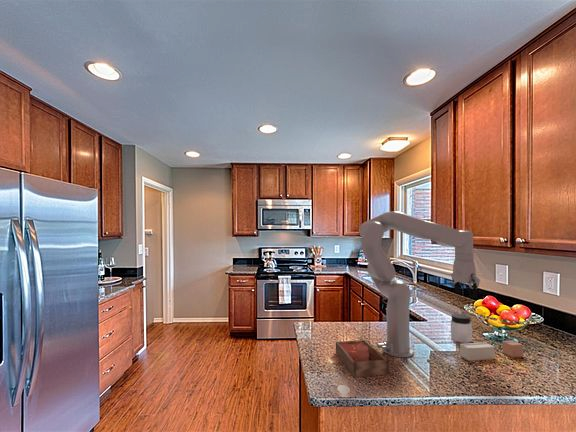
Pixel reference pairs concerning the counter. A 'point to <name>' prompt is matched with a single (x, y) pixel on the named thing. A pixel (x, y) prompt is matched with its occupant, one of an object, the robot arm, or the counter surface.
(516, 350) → the stub
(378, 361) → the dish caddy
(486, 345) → the beige box
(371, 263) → the robot arm
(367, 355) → the pottery
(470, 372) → the counter surface
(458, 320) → the jar
